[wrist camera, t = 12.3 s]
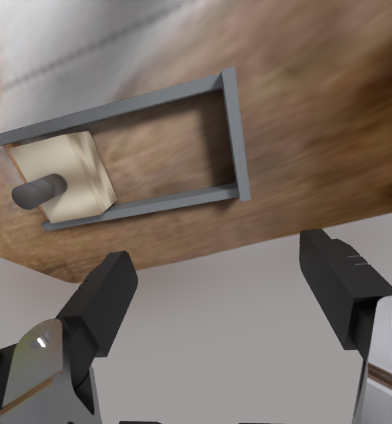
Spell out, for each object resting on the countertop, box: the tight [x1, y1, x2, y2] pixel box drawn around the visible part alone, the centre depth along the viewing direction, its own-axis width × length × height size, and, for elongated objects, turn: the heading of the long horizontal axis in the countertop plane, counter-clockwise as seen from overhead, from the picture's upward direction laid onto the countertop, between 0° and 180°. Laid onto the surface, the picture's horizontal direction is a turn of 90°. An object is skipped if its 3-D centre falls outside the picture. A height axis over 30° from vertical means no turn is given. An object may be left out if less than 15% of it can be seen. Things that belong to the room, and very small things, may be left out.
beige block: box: [9, 131, 117, 223], centre depth 31 cm, size 12×9×12 cm
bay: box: [0, 67, 251, 231], centre depth 33 cm, size 17×38×5 cm, turn 103°
